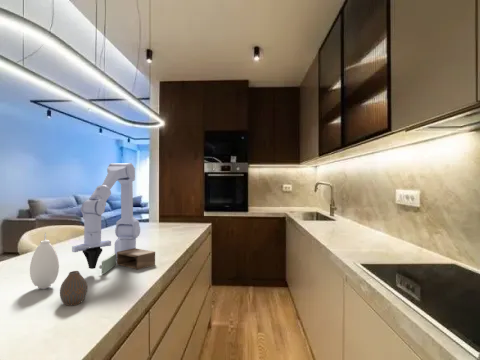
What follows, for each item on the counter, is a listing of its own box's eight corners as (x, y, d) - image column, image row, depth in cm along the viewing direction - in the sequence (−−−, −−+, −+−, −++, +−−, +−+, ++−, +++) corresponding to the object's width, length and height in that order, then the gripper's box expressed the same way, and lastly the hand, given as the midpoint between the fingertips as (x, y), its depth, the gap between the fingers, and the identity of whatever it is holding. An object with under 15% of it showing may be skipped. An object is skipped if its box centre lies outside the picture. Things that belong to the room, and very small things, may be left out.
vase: (58, 309, 82) (59, 276, 82) (60, 300, 88) (60, 270, 88) (87, 305, 85) (88, 273, 86) (87, 296, 91) (87, 267, 92)
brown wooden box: (116, 265, 128) (116, 251, 128) (134, 260, 136) (134, 248, 136) (137, 269, 121) (138, 255, 121) (155, 264, 129) (155, 251, 129)
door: (111, 264, 128) (111, 253, 128) (116, 264, 128) (116, 253, 128) (98, 273, 114) (99, 261, 114) (104, 273, 114) (104, 261, 114)
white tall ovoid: (37, 294, 93) (38, 235, 94) (24, 289, 98) (26, 232, 98) (63, 286, 100) (64, 231, 100) (50, 282, 104) (51, 229, 105)
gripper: (80, 235, 106) (79, 274, 106) (116, 230, 119) (115, 265, 118) (68, 233, 110) (68, 271, 110) (105, 228, 122) (104, 262, 122)
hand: (92, 268), depth 114 cm, fingers closed
